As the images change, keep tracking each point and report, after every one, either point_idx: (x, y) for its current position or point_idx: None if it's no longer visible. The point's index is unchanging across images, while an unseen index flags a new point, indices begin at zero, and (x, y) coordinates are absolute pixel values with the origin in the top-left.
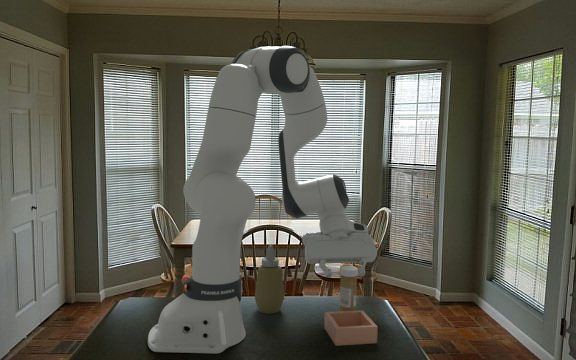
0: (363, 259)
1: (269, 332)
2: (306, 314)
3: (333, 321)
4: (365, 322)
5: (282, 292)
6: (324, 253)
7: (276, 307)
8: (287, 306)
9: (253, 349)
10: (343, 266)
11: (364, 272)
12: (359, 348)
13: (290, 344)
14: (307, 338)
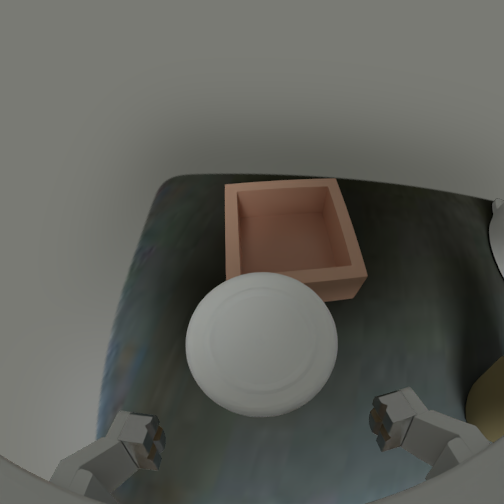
0: (72, 481)
1: (465, 271)
2: None
3: (342, 213)
4: (239, 239)
5: (500, 385)
6: (496, 478)
7: (483, 374)
8: None
9: (464, 209)
10: (307, 380)
11: (124, 413)
12: None
13: (417, 219)
14: (391, 241)
